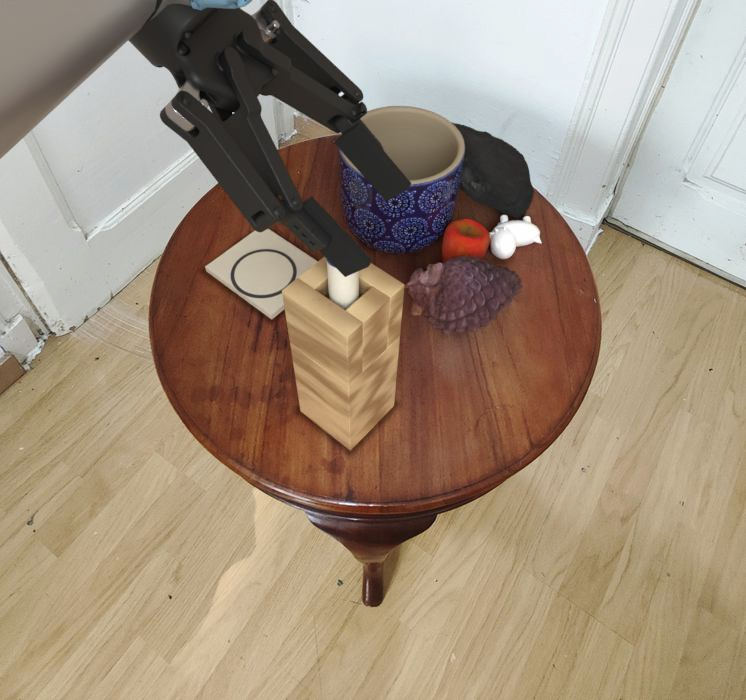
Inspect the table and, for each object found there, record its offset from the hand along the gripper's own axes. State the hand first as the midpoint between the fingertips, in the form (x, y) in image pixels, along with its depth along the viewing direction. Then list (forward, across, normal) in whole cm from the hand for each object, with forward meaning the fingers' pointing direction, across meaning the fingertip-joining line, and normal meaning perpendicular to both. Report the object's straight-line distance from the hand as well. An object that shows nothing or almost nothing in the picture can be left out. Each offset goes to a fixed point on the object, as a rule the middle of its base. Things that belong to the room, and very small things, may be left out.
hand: (379, 228), depth 50 cm
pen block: (+19, 0, -24) cm, 31 cm away
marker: (+9, 0, -14) cm, 17 cm away
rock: (+25, -44, -19) cm, 54 cm away
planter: (+16, -31, -27) cm, 44 cm away
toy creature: (+25, -36, -14) cm, 46 cm away
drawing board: (+6, -16, -37) cm, 41 cm away
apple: (+23, -26, -20) cm, 40 cm away
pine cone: (+26, -19, -18) cm, 36 cm away
